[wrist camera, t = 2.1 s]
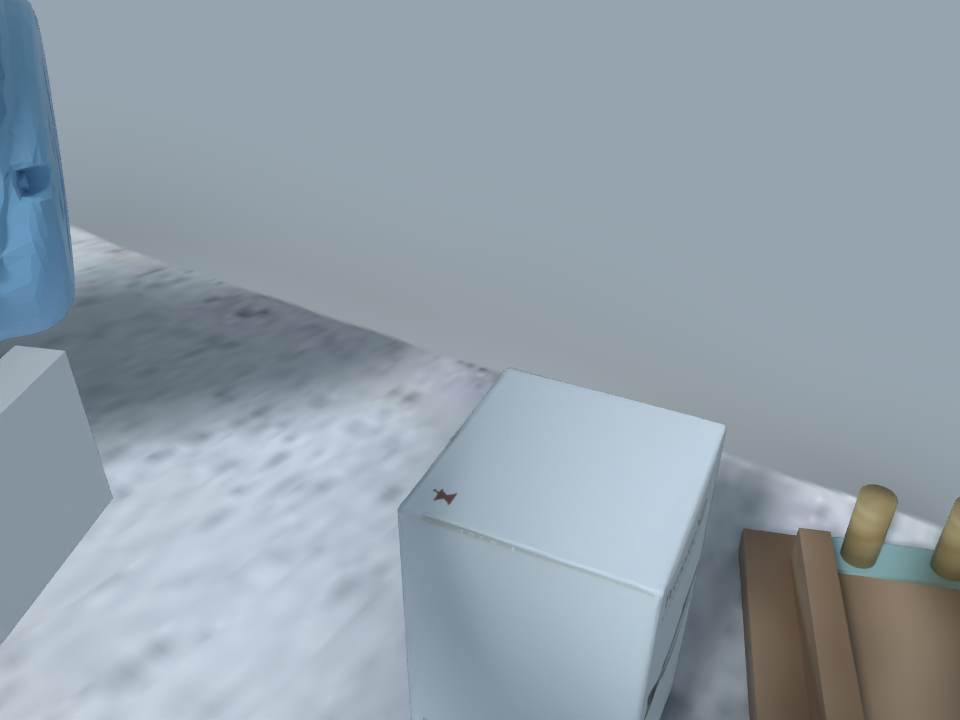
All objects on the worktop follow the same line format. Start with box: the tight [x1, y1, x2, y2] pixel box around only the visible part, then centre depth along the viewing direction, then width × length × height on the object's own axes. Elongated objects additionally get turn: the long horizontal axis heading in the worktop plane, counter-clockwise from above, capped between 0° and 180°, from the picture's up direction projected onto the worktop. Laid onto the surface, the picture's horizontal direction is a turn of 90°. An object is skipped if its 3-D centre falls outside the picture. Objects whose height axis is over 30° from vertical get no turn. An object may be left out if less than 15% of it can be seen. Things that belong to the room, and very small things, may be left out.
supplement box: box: [398, 368, 726, 720], centre depth 28 cm, size 7×7×13 cm
